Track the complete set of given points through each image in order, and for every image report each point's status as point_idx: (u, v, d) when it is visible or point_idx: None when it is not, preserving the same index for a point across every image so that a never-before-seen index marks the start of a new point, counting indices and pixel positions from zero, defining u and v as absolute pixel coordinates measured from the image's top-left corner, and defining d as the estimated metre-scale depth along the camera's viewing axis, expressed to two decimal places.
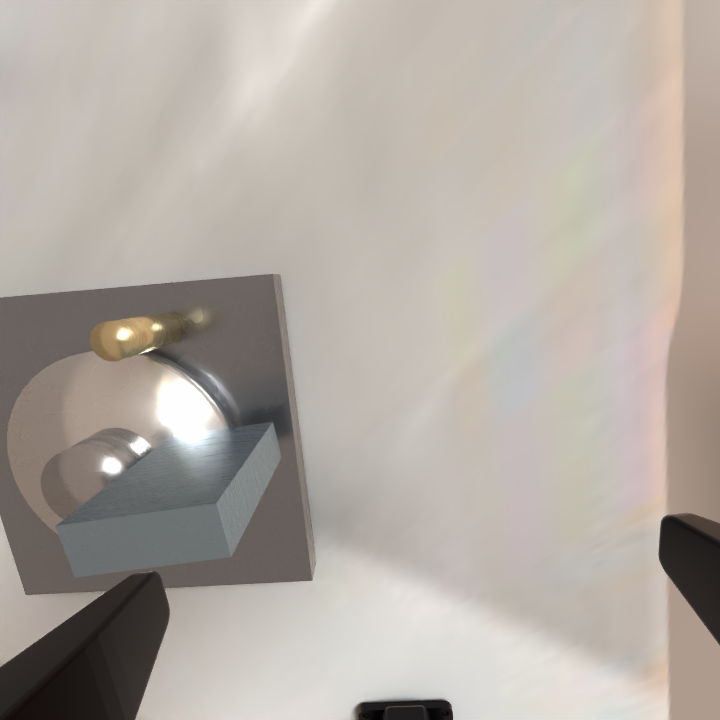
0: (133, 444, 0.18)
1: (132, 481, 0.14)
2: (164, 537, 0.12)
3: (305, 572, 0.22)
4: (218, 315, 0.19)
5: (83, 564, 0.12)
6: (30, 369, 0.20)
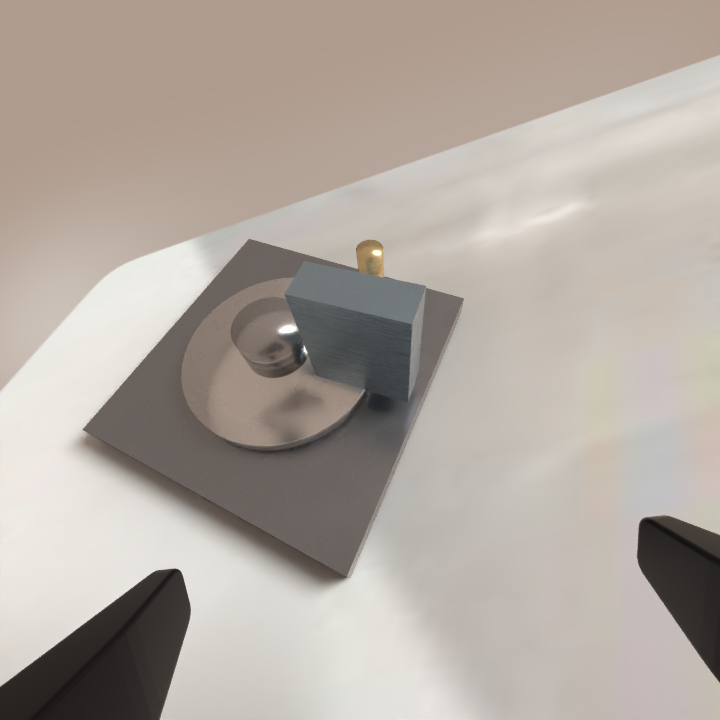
0: None
1: None
2: (371, 293, 0.15)
3: (345, 560, 0.17)
4: None
5: (298, 288, 0.15)
6: None
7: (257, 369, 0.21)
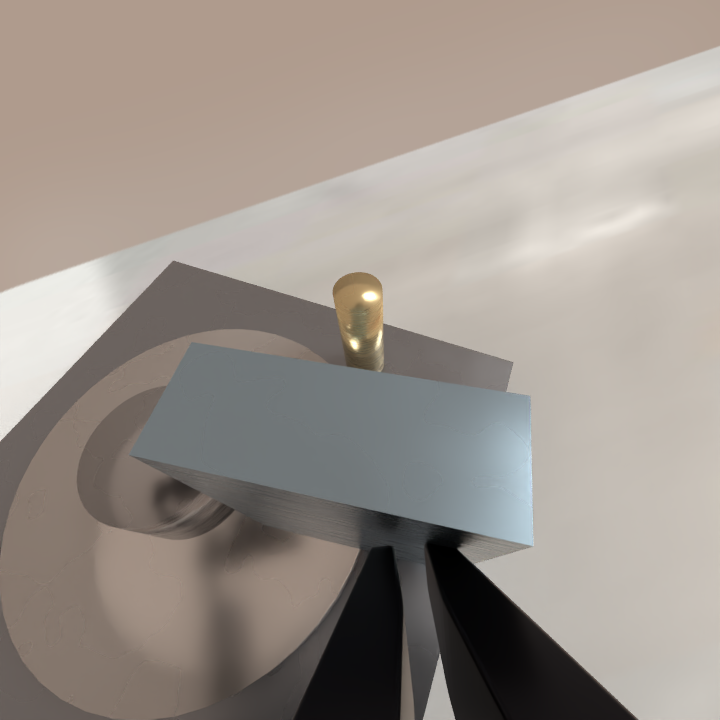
0: None
1: None
2: (381, 432, 0.05)
3: None
4: (427, 374, 0.15)
5: (171, 431, 0.05)
6: None
7: (147, 533, 0.11)
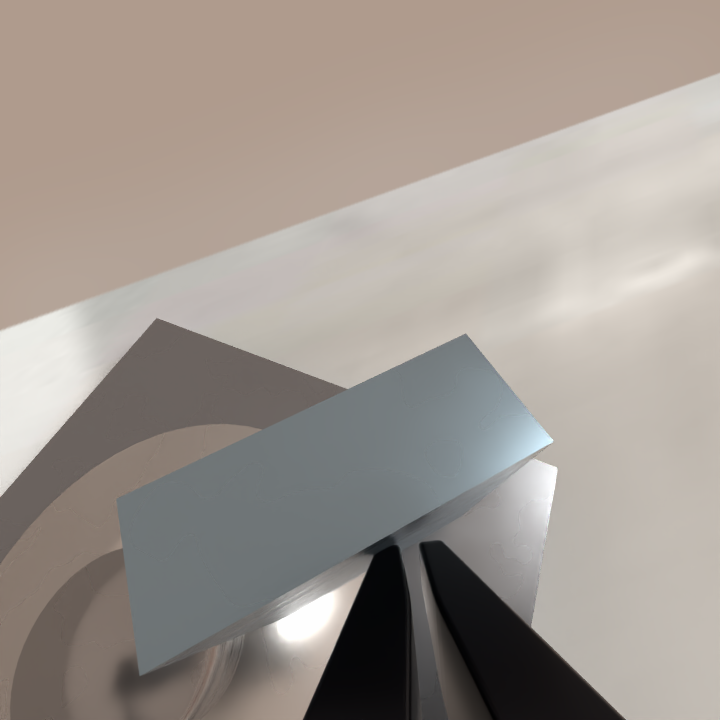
0: None
1: None
2: (383, 442, 0.05)
3: None
4: None
5: (173, 608, 0.04)
6: (176, 422, 0.14)
7: None
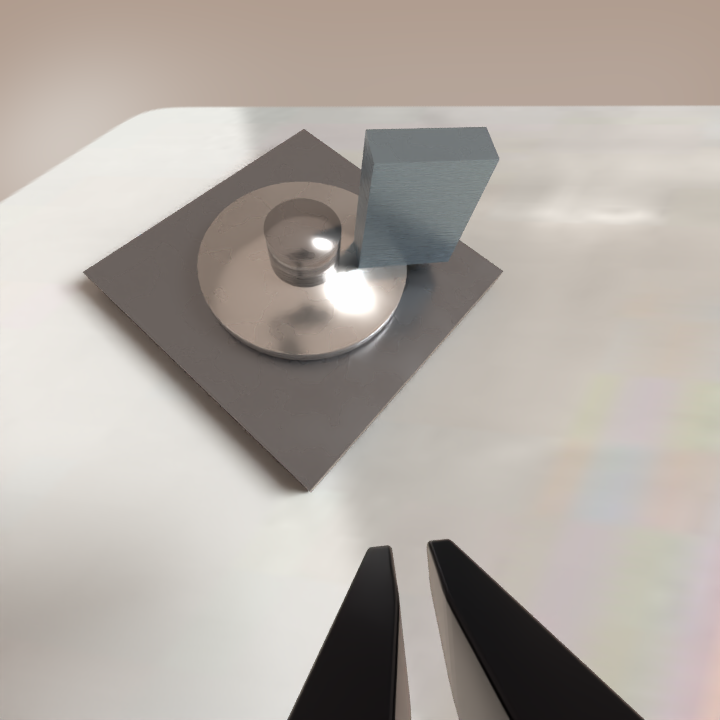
0: None
1: None
2: (449, 143, 0.16)
3: (313, 476, 0.18)
4: (449, 260, 0.24)
5: (382, 155, 0.15)
6: None
7: (306, 279, 0.20)
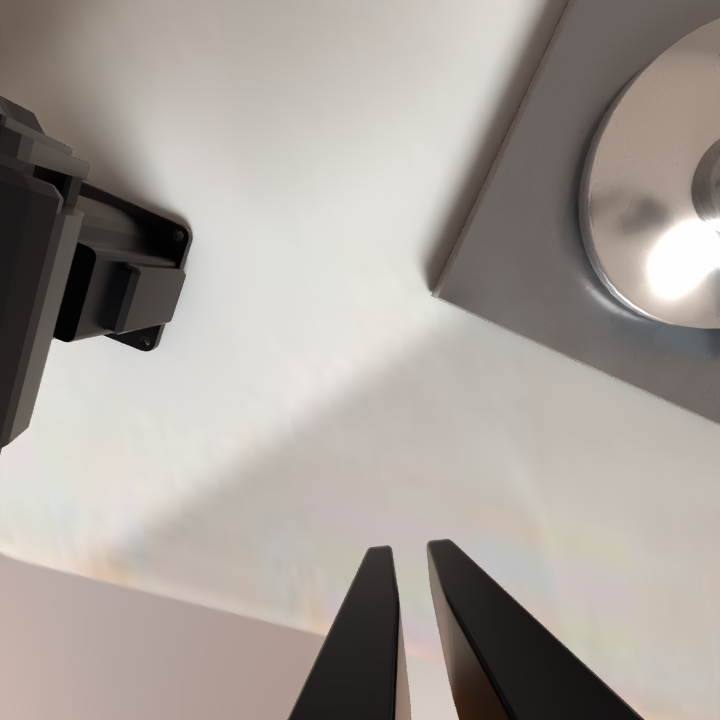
0: None
1: None
2: None
3: (452, 295, 0.17)
4: None
5: None
6: None
7: (709, 198, 0.14)
